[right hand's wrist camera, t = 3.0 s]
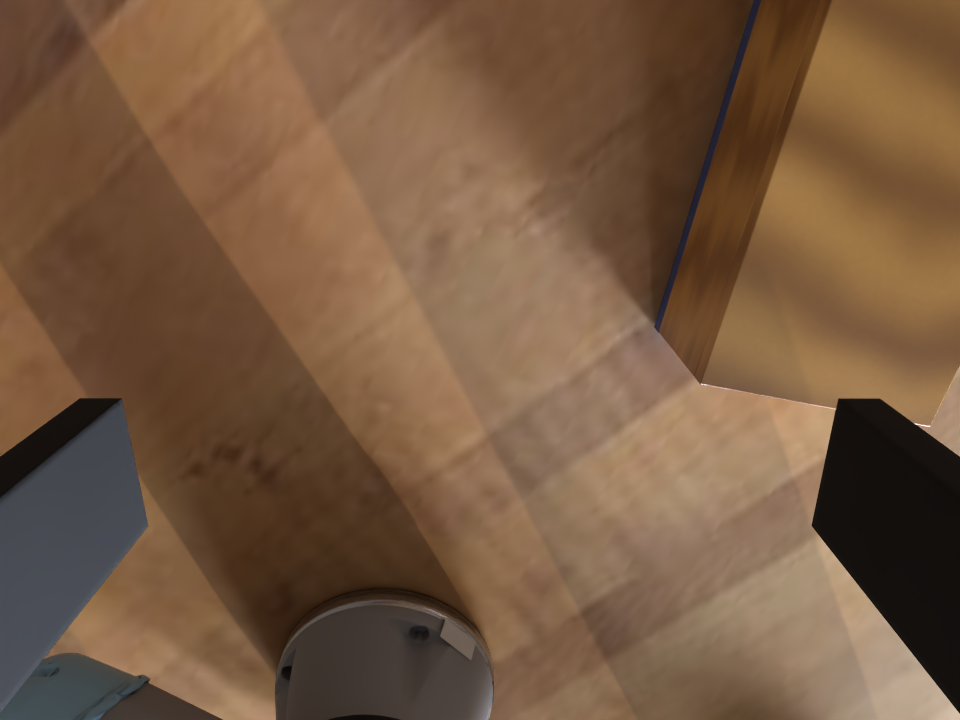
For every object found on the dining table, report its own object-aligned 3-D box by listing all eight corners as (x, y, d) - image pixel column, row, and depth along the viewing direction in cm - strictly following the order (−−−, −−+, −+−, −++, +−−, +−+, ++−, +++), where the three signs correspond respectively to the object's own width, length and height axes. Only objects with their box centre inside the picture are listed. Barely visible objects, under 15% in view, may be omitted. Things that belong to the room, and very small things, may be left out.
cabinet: (782, -95, 32) (886, -164, 24) (1007, -41, 32) (1182, -90, 24) (654, 326, 39) (699, 384, 31) (839, 362, 40) (930, 427, 32)
